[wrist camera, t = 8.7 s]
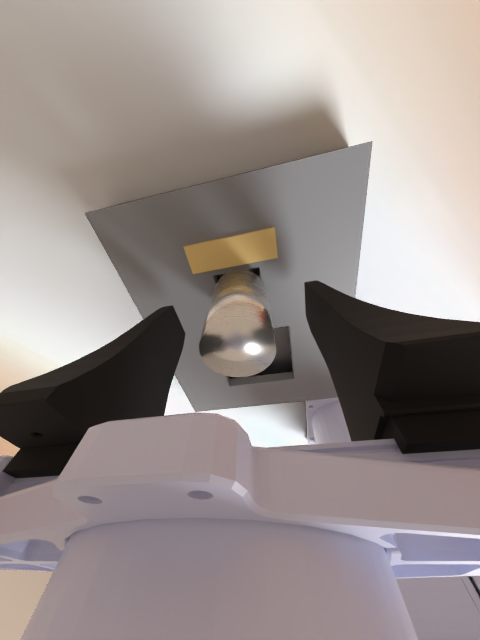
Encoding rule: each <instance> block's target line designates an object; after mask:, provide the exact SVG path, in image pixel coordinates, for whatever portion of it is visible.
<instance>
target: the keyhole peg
mask: <svg viewBox="0 0 480 640" xmlns="http://www.w3.org/2000/svg"><path fill="white" fill-rule="evenodd" d="M216 277H217V280H218V281H217V283H216V285H215V288H214V292H213V295H212V299H211V303H210V306H209V310H208V314H207V317H206V321H205V324H204V328H203V332H202V335H201V339H200V343H199V353H200V356H201V358H202V360H203V361H204V363H205V364H206V365H207V366H208V367H209V368H210V369H212V370H213V371H215V372H217V373H219V374H222V375H225V376H230V377H248V376H252V375H255V374H258V373H260V372H262V371H263V370H265V369H266V368H267V367H268V366H269V365H270V364H271V363H272V362H273V360H274V358H275V355H276V343H275V337H274V332H273V326H272V320H271V314H270V308H269V302H268V296H267V291H266V287H265V284H264V282H263V281H262V279H261V275H260V269H259V267H257V268H251V269H246V270H233V271H230V272H228V273H225V274H220V275H216Z"/></svg>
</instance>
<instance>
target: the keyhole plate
mask: <svg viewBox="0 0 480 640" xmlns="http://www.w3.org/2000/svg"><path fill="white" fill-rule="evenodd" d="M371 150H372V141H371V142H367V143H363V144H359V145H355V146H351V147H347V148H343V149H339V150H335V151H331V152H327V153H323V154H319V155H315V156H311V157H307V158H303V159H299V160H295V161H291V162H287V163H283V164H279V165H275V166H271V167H267V168H263V169H259V170H255V171H251V172H247V173H243V174H239V175H235V176H231V177H227V178H223V179H219V180H215V181H211V182H207V183H203V184H199V185H195V186H191V187H187V188H183V189H179V190H175V191H171V192H167V193H163V194H159V195H155V196H151V197H147V198H143V199H139V200H135V201H131V202H127V203H123V204H119V205H115V206H111V207H107V208H103V209H99V210H95V211H91V212H87V213H85V215H86V216H87V218H88V220H89V222H90V224H91V225H92V227H93V229H94V231H95V233H96V234H97V236H98V238H99V240H100V242H101V243H102V245H103V247H104V249H105V251H106V252H107V254H108V256H109V258H110V260H111V261H112V263H113V265H114V267H115V269H116V270H117V272H118V274H119V276H120V277H121V279H122V281H123V283H124V285H125V286H126V288H127V290H128V292H129V294H130V295H131V297H132V299H133V301H134V303H135V304H136V306H137V308H138V310H139V312H140V313H141V315H142V317H143V319H145V318H146V317H148V316H149V315H151V314H152V313H153V312H155V311H156V310H158V309H160V308H162V307H165V306H171V305H173V307H174V309H175V311H176V313H177V316H178V318H179V320H180V322H181V325H182V327H183V329H184V331H185V340H184V346H183V350H182V353H181V356H180V359H179V362H178V365H177V368H176V371H175V373H174V374H175V376H176V378H177V380H178V382H179V383H180V385H181V387H182V389H183V390H184V392H185V394H186V396H187V398H188V399H189V401H190V403H191V405H192V407H193V408H194V410H195V412H198V411H208V410H218V409H228V408H238V407H248V406H259V405H269V404H279V403H289V402H299V401H309V400H319V399H329V398H338V396H337V393H336V390H335V387H334V384H333V381H332V378H331V375H330V372H329V369H328V367H327V365H326V362H325V360H324V358H323V356H322V354H321V352H320V350H319V348H318V346H317V344H316V341H315V339H314V337H313V335H312V333H311V331H310V328H309V325H308V322H307V318H306V312H305V286H304V282H309V281H315V280H317V281H320V282H322V283H324V284H326V285H328V286H330V287H332V288H334V289H336V290H338V291H340V292H342V293H344V294H346V295H349V296H351V297H353V298H355V294H356V285H357V276H358V267H359V258H360V249H361V240H362V231H363V222H364V213H365V204H366V195H367V186H368V177H369V168H370V159H371ZM257 267H259V269H260V275H261V279H262V281H263V282H264V284H265V287H266V291H267V296H268V302H269V308H270V314H271V320H272V326H273V328H279V327H286V326H288V329H289V339H290V349H291V360H292V370H293V372H285V373H277V374H268V375H260V376H252V377H243V378H235V379H230V378H229V376H225V375H222V374H219V373H217V372H215V371H213V370H212V369H210V368H209V367H208V366H207V365H206V364H205V363H204V361H203V360H202V358H201V356H200V353H199V343H200V339H201V335H202V332H203V328H204V324H205V321H206V317H207V314H208V310H209V306H210V303H211V299H212V295H213V292H214V288H215V285H216V283H217V281H218V280H217V277H216V275H220V274H225V273H228V272H230V271H233V270H246V269H251V268H257Z"/></svg>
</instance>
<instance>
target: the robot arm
mask: <svg viewBox="0 0 480 640" xmlns="http://www.w3.org/2000/svg"><path fill="white" fill-rule="evenodd" d="M304 286H305V312H306V318H307V322H308V325H309V328H310V331H311V333H312V335H313V337H314V339H315V341H316V344H317V346H318V348H319V350H320V352H321V354H322V356H323V358H324V360H325V362H326V365H327V367H328V369H329V372H330V375H331V378H332V381H333V384H334V387H335V390H336V393H337V396H338V398H329V399H319V400H309V401H305V402H306V420H307V438H308V443H309V444H311V445H297V446H283V447H269V448H264V447H253V446H252V445H251V442H250V440H249V437H248V434H247V433H246V432H245V431H244V430H243V429H242V427H241V426H240V425H239V424H238V423H237V422H236V421H235V420H232V419H229V418H227V417H224V416H222V415H219V414H213V413H187V414H177V415H167V416H164V413H165V407H166V402H167V398H168V393H169V389H170V386H171V382H172V379H173V376H174V373H175V371H176V368H177V365H178V362H179V359H180V356H181V353H182V350H183V346H184V340H185V331H184V329H183V327H182V325H181V322H180V320H179V318H178V316H177V313H176V311H175V309H174V307H173V305H171V306H165V307H162V308H160V309H158V310H156V311H155V312H153V313H152V314H151V315H149V316H148V317H146V318H145V319H144V320H142V321H141V322H140V323H138V324H137V325H135V326H134V327H133V328H131V329H130V330H128V331H127V332H125V333H124V334H122V335H121V336H119V337H118V338H116V339H115V340H113V341H112V342H110V343H108V344H107V345H105V346H103V347H101V348H100V349H98V350H96V351H94V352H92V353H90V354H88V355H86V356H84V357H82V358H80V359H78V360H76V361H74V362H72V363H69V364H67V365H65V366H63V367H60V368H58V369H55V370H53V371H51V372H48V373H46V374H43V375H40V376H38V377H35V378H32V379H29V380H27V381H24V382H21V383H18V384H15V385H12V386H10V387H8V388H6V389H5V390H3V391H2V392H1V393H0V436H1V437H2V438H4V439H5V440H7V441H9V442H10V443H12V444H14V445H15V446H17V447H18V448H21V449H20V450H19V451H18V453H17V454H16V455H15V456H14V457H11V456H6V455H1V456H0V569H3V570H26V571H47V572H53V573H52V576H51V578H50V580H49V582H48V584H47V586H46V588H45V590H44V592H43V594H42V596H41V598H40V600H39V602H38V605H37V607H36V609H35V611H34V613H33V615H32V617H31V619H30V621H29V623H28V625H27V627H26V629H25V631H24V633H23V635H22V638H21V640H480V322H471V321H460V320H449V319H440V318H433V317H426V316H420V315H414V314H409V313H404V312H399V311H395V310H390V309H387V308H383V307H379V306H376V305H373V304H370V303H367V302H364V301H361V300H358V299H356V298H353V297H351V296H349V295H346V294H344V293H342V292H340V291H338V290H336V289H334V288H332V287H330V286H328V285H326V284H324V283H322V282H320V281H317V280H315V281H309V282H304Z"/></svg>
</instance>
